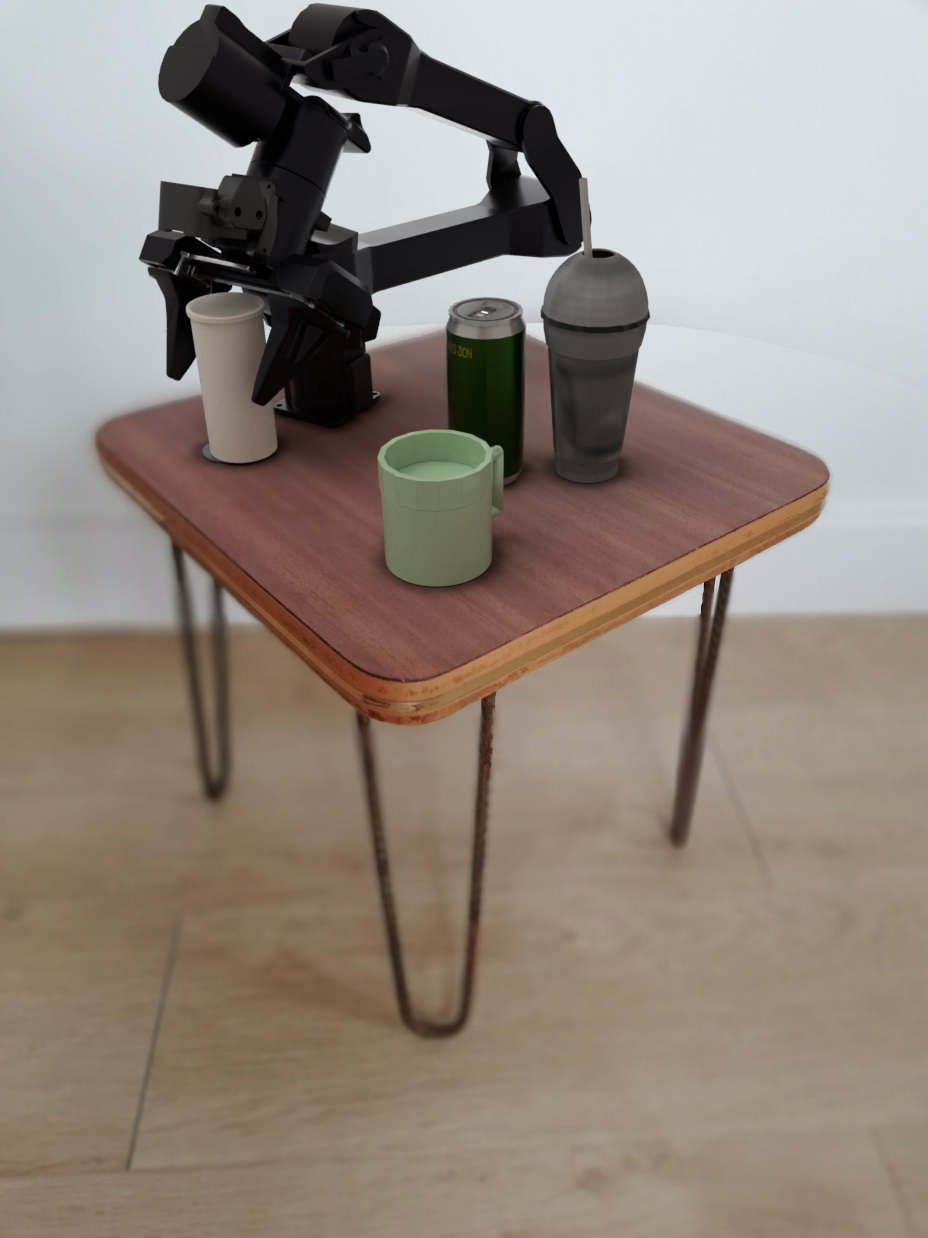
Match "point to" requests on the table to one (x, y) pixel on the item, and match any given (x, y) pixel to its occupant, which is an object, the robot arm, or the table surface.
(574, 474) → the beverage cup
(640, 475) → the table surface
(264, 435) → the paper cup
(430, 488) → the mug
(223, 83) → the robot arm
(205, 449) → the coaster
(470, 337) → the beer can
